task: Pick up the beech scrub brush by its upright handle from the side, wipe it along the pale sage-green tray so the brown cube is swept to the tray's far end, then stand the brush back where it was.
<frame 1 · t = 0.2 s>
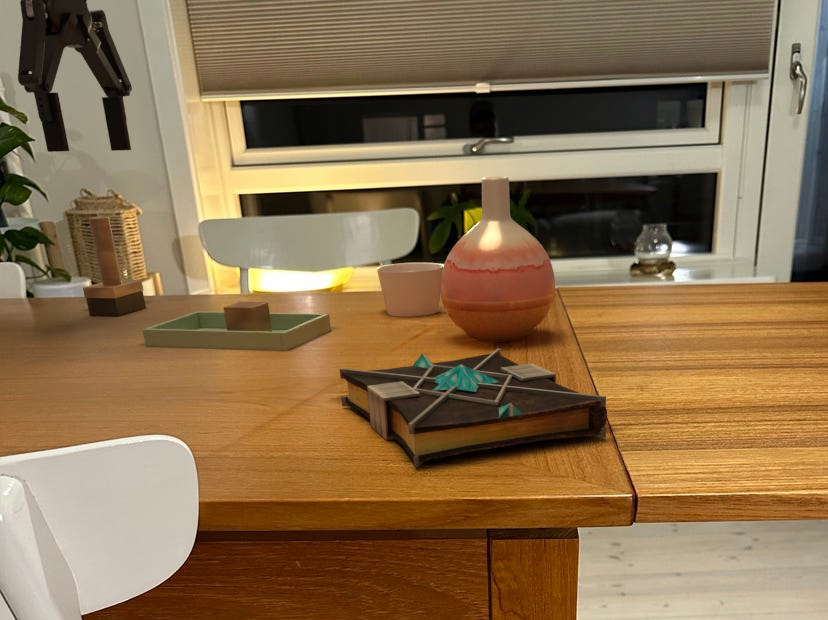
hand: (91, 151, 128), 22 cm above the table, tool pointing down, fingers open, 13 cm apart
brush: (118, 311, 143), on the table
tray: (240, 342, 119), on the table
book: (464, 424, 84), on the table
brown cube: (250, 338, 118), point 1 cm above the table, touching tray
vase: (499, 339, 116), on the table
pink cup: (413, 317, 132), on the table
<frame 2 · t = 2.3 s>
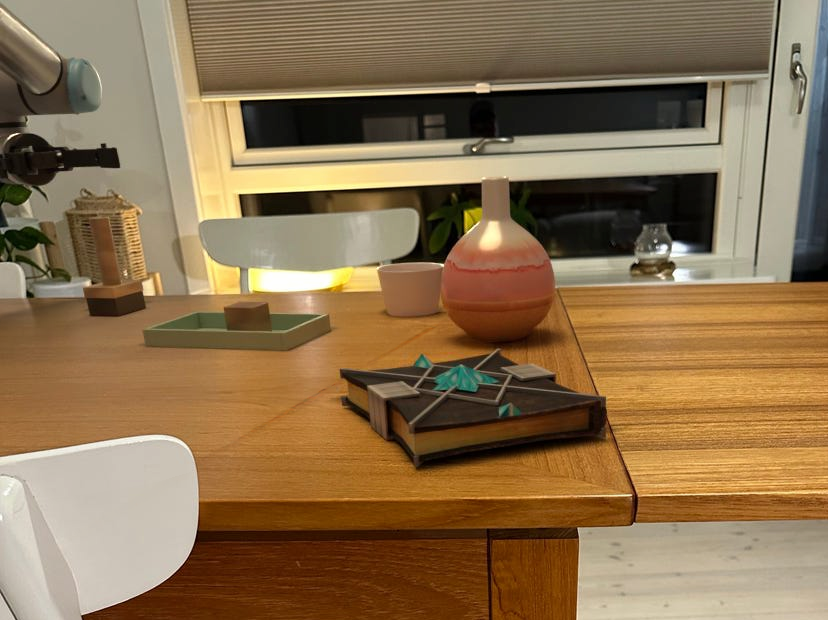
hand: (70, 160, 139), 20 cm above the table, tool horizontal, fingers open, 13 cm apart
nothing on the table moved.
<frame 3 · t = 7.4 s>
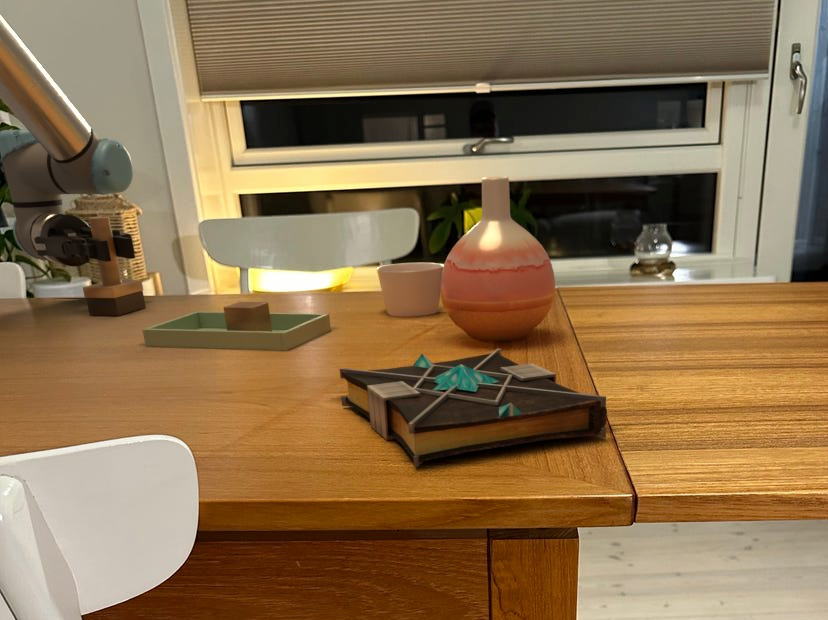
hand: (118, 249, 135), 9 cm above the table, tool horizontal, fingers closed on brush, 3 cm apart
brush: (118, 311, 143), on the table, touching gripper
everything else where it was.
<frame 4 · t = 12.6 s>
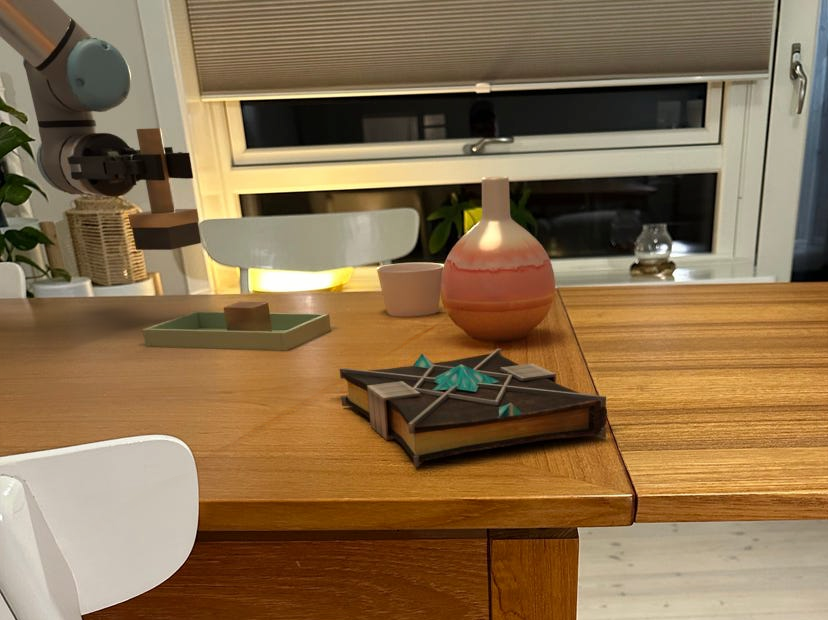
hand: (174, 166, 111), 20 cm above the table, tool horizontal, fingers closed on brush, 3 cm apart
brush: (169, 246, 119), point 11 cm above the table, touching gripper
everything else where it was.
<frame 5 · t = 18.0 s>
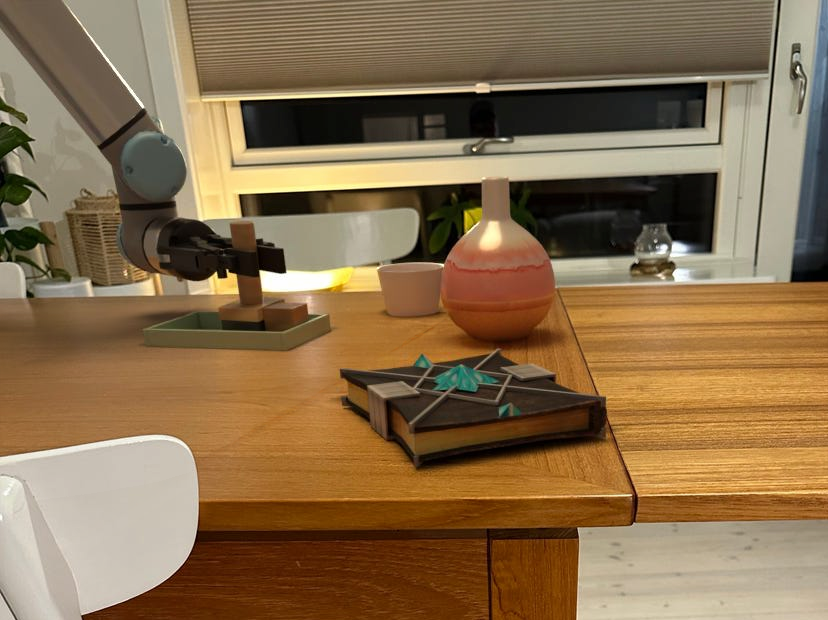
hand: (268, 262, 110), 10 cm above the table, tool horizontal, fingers closed on brush, 3 cm apart
brush: (256, 336, 118), point 1 cm above the table, touching brown cube, gripper
brown cube: (289, 339, 117), point 1 cm above the table, touching brush, tray
everything else where it was.
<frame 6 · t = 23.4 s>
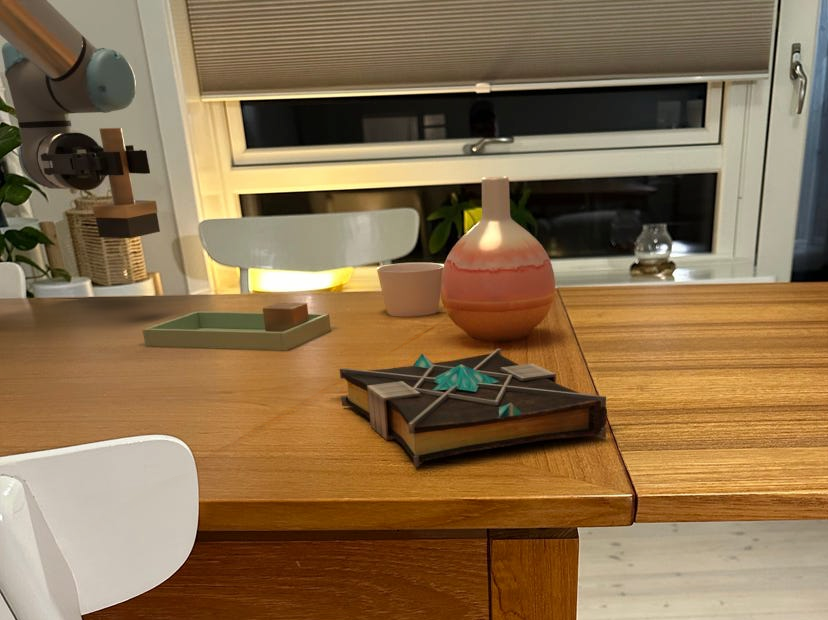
hand: (132, 162, 124), 20 cm above the table, tool horizontal, fingers closed on brush, 3 cm apart
brush: (130, 234, 132), point 11 cm above the table, touching gripper
brown cube: (289, 339, 117), point 1 cm above the table, touching tray
everything else where it was.
when the fingers open (9 cm above the table, at t = 27.8 s): brush stays where it is, on the table.
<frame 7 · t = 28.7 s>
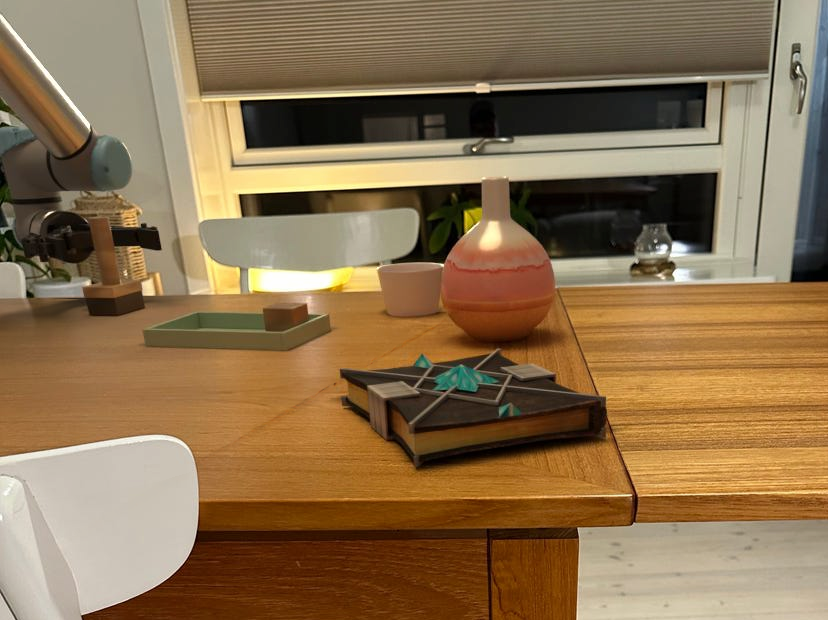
hand: (112, 245, 137), 10 cm above the table, tool horizontal, fingers open, 13 cm apart
brush: (117, 311, 144), on the table
everything else where it was.
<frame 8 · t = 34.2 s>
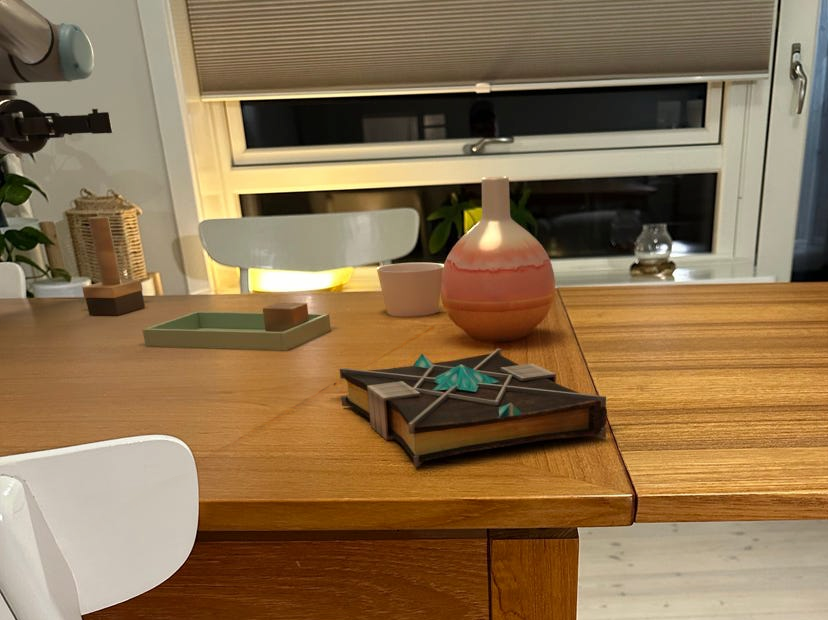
hand: (61, 124, 137), 25 cm above the table, tool horizontal, fingers open, 13 cm apart
nothing on the table moved.
at the end: brown cube inside the target area in the tray (0.3 cm from its centre), point 0.6 cm above the tray's base; brush inside the target area (0.4 cm from its centre), on the table; brush tilted 0° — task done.
